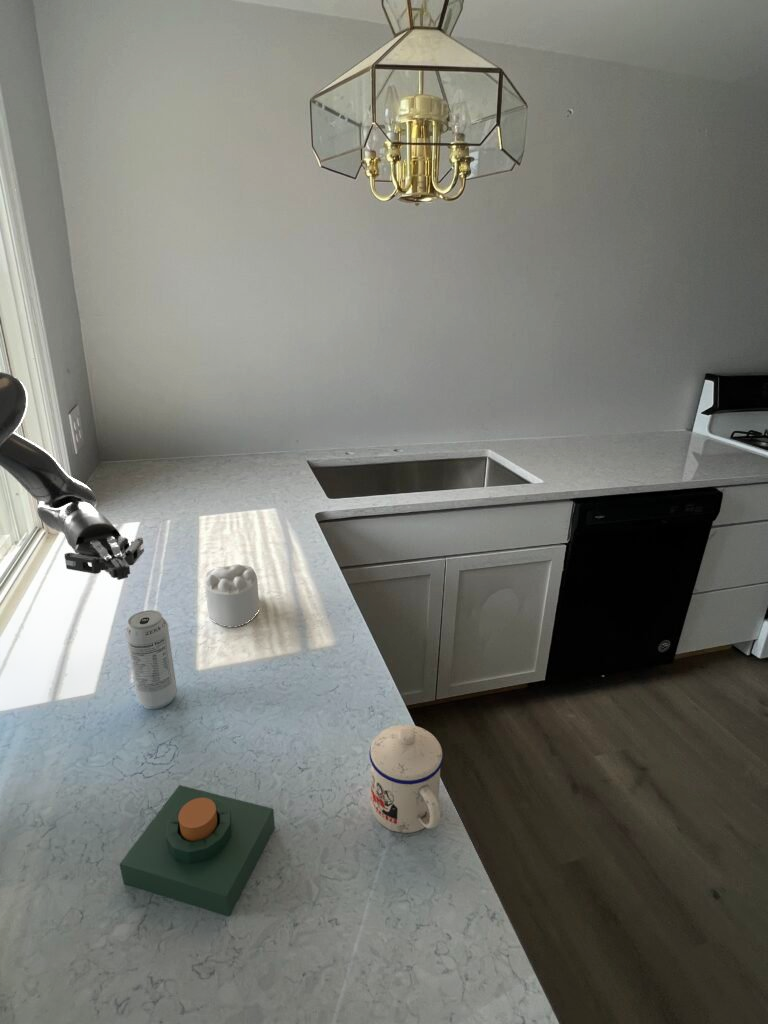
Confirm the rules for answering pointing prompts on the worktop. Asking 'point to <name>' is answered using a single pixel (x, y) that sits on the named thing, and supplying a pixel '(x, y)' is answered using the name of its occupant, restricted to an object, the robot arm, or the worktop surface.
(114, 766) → the worktop surface
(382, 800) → the teacup with lid
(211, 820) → the orange round push button
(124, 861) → the button base
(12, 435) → the robot arm
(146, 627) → the energy drink can
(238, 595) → the lumpy-topped squat cylinder
